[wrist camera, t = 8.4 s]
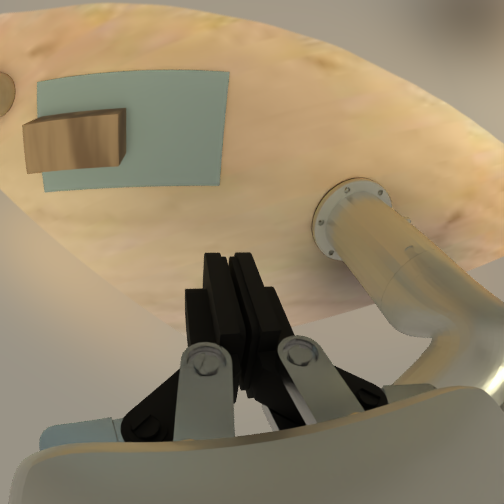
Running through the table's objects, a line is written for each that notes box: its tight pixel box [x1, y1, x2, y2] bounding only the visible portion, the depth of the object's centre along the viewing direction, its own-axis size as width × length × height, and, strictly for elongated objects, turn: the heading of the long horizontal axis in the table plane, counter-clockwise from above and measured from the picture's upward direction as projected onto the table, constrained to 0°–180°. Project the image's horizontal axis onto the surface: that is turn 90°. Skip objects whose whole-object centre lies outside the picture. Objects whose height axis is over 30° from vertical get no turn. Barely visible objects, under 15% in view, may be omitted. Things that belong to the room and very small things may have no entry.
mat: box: [37, 70, 230, 192], centre depth 30 cm, size 21×13×1 cm, turn 84°
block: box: [22, 108, 126, 174], centre depth 26 cm, size 5×5×10 cm
